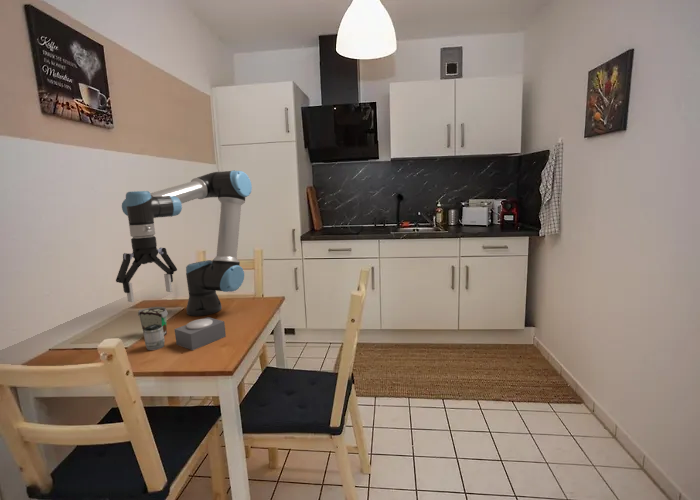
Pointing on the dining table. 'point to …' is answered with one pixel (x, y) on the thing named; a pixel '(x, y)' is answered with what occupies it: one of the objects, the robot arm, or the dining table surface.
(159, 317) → the food container
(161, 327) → the camera lens
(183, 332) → the grey block with dome
